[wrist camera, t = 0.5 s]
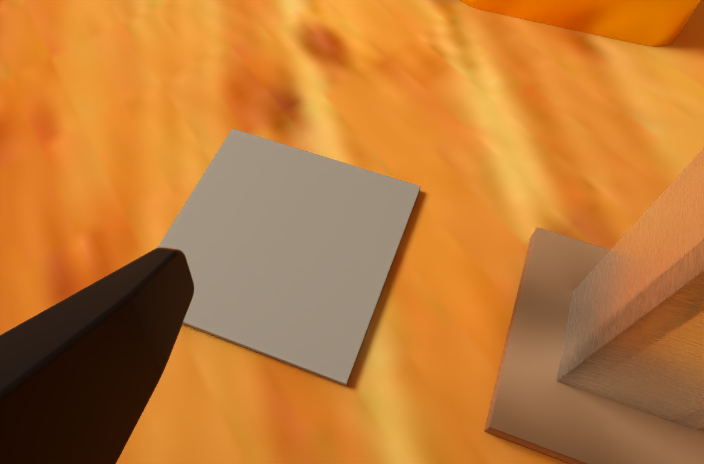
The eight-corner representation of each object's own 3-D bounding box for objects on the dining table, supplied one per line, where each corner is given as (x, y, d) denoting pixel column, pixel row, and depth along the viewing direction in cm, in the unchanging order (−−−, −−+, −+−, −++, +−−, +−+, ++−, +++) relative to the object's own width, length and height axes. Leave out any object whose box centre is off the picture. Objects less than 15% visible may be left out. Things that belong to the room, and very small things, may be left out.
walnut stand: (735, 526, 21) (836, 522, 17) (484, 431, 23) (516, 405, 18) (739, 301, 26) (819, 253, 21) (530, 236, 27) (565, 180, 23)
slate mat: (346, 386, 24) (346, 383, 23) (128, 303, 25) (124, 299, 25) (419, 190, 29) (420, 186, 28) (233, 133, 31) (232, 128, 30)
